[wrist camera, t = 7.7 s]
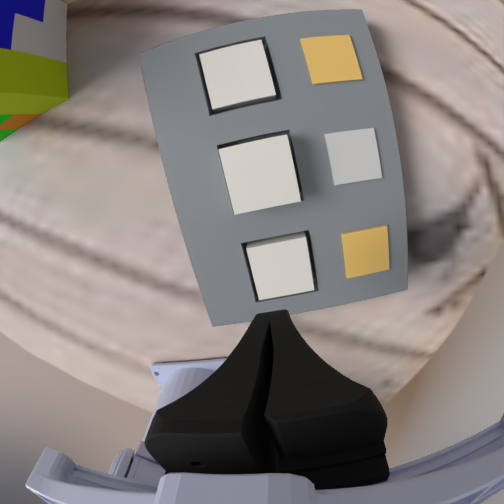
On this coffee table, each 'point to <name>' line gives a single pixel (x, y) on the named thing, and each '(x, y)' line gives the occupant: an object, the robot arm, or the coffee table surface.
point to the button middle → (260, 174)
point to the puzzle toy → (31, 60)
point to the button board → (303, 154)
